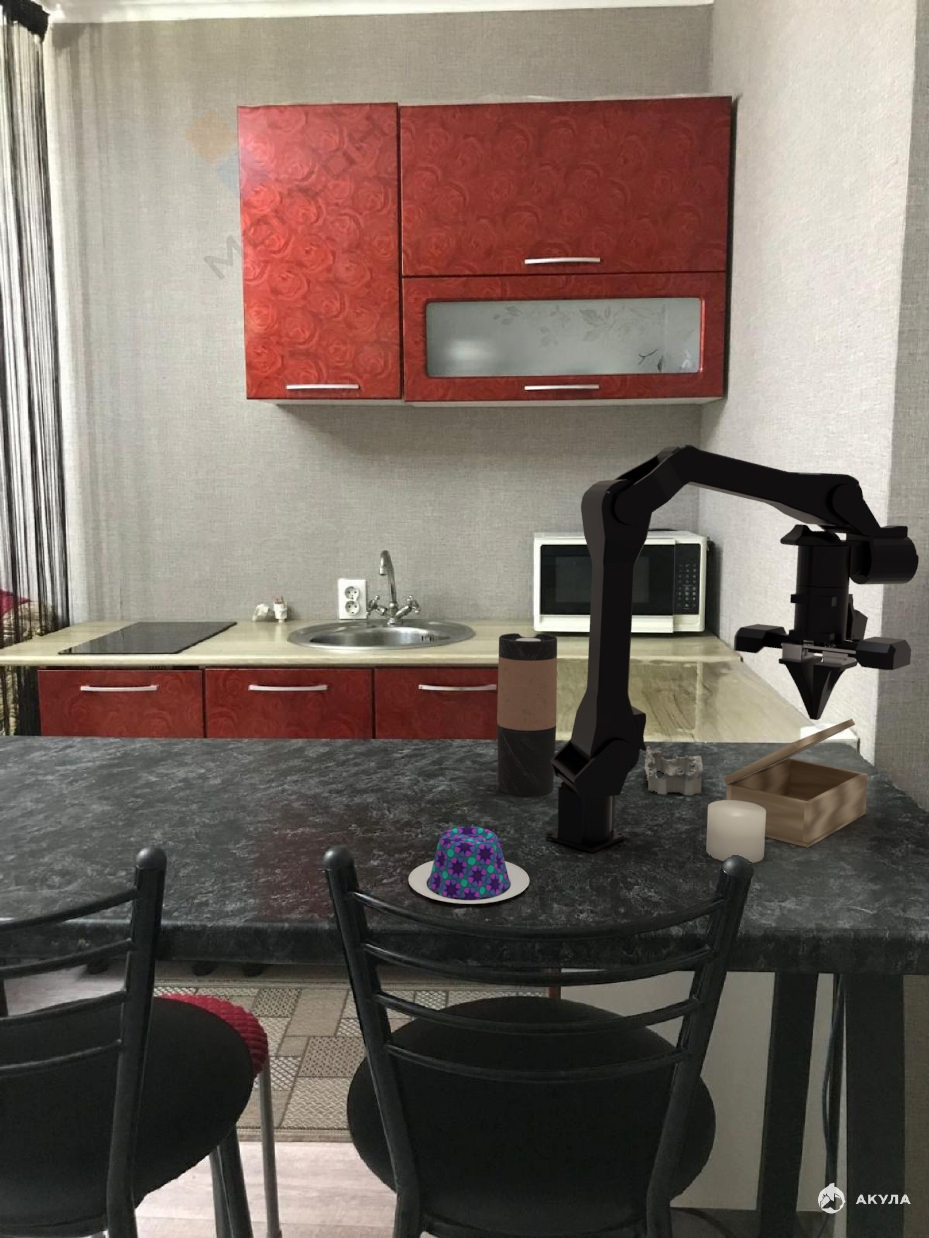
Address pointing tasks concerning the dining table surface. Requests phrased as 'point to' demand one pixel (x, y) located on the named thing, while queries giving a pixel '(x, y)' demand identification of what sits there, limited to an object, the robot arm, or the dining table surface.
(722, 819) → the beige tapered cylinder
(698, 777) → the egg carton
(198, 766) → the dining table surface
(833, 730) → the box lid
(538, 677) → the travel mug
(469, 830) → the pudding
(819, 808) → the storage box
